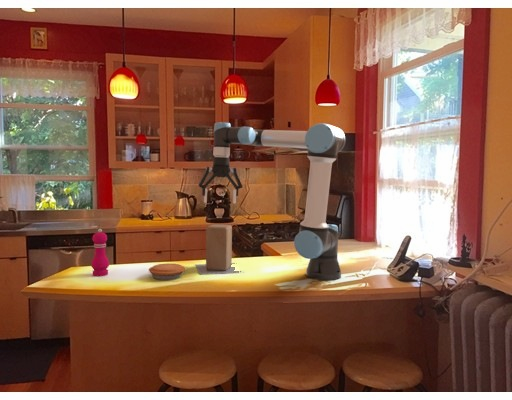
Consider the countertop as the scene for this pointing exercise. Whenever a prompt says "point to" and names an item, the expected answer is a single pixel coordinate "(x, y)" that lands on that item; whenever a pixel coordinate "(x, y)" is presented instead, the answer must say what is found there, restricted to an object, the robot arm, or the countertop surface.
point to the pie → (167, 271)
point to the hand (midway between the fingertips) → (220, 203)
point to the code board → (203, 270)
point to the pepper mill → (100, 254)
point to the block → (218, 247)
